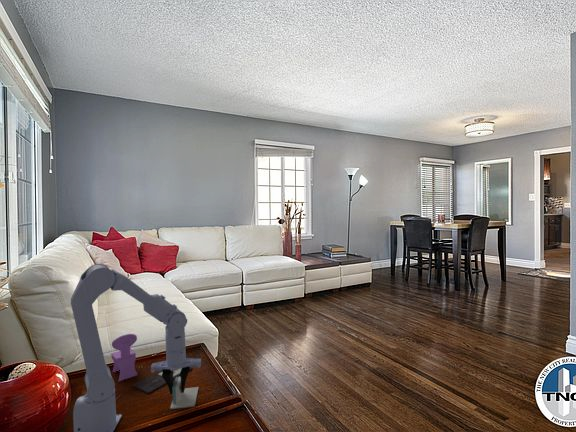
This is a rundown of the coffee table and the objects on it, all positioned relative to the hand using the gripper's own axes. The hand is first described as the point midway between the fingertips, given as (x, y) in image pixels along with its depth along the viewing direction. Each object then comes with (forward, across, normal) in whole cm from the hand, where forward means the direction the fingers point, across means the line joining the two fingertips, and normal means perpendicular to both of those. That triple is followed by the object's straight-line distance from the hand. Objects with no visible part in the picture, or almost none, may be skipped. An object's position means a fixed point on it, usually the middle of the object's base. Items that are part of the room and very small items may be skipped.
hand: (177, 391), depth 100 cm
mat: (+2, +2, 0) cm, 3 cm away
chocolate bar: (+3, -7, +14) cm, 16 cm away
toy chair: (+3, -22, +20) cm, 30 cm away
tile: (+2, 0, 0) cm, 2 cm away
